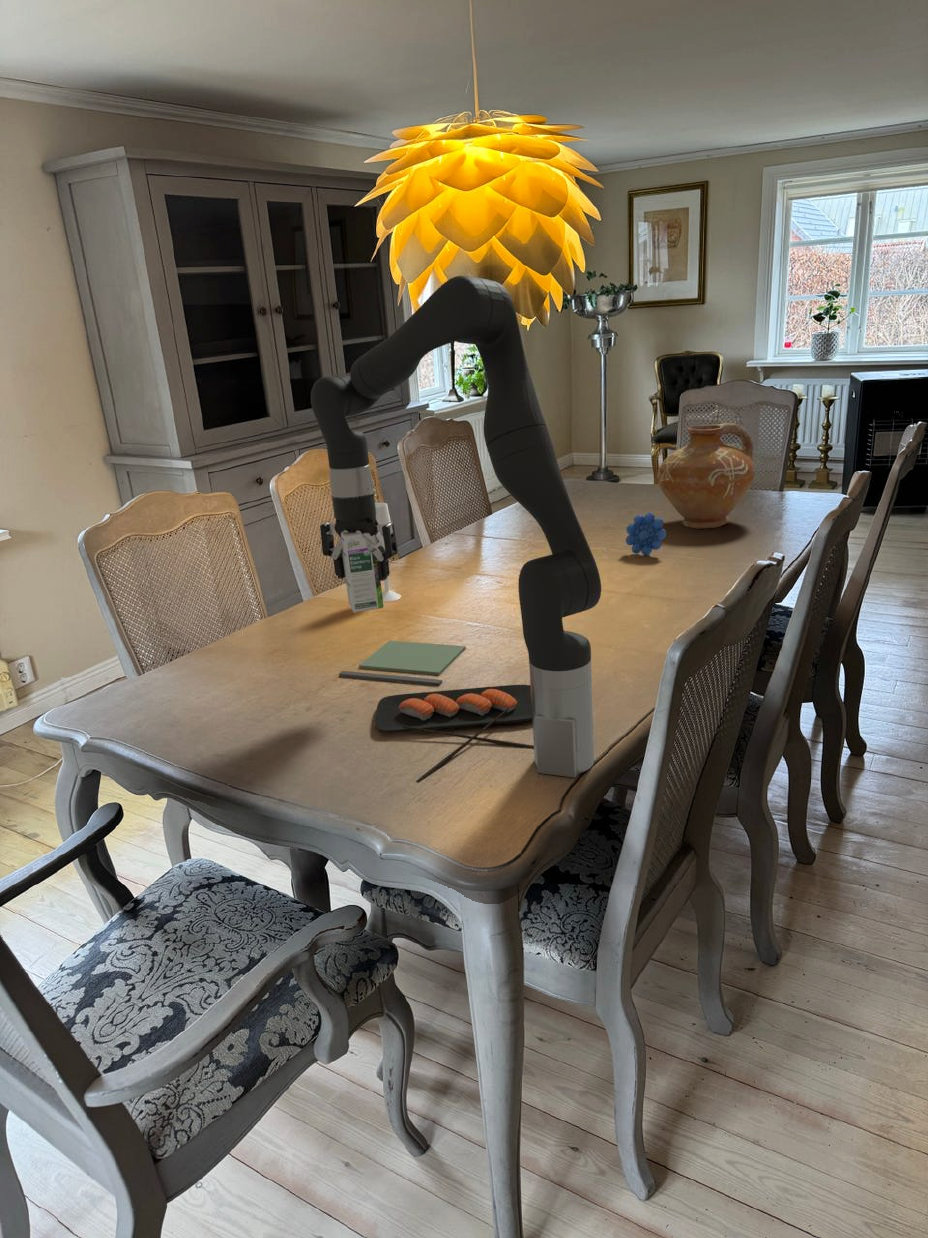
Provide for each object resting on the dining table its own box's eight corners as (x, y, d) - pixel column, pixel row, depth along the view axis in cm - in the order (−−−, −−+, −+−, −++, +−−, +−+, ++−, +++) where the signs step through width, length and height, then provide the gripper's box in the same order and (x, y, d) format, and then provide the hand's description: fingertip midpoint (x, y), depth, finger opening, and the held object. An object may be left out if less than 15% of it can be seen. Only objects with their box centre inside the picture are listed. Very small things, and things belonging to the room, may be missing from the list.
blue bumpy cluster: (671, 552, 237) (672, 510, 233) (662, 559, 231) (662, 515, 227) (632, 549, 243) (631, 507, 239) (622, 555, 238) (621, 513, 234)
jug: (650, 516, 277) (649, 422, 267) (739, 510, 276) (742, 415, 265) (666, 538, 251) (666, 435, 241) (765, 532, 249) (769, 427, 239)
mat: (439, 675, 169) (439, 672, 169) (359, 667, 176) (358, 665, 176) (465, 648, 181) (465, 646, 181) (389, 643, 188) (389, 640, 188)
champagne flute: (397, 601, 215) (386, 507, 207) (371, 601, 217) (360, 508, 208) (404, 593, 221) (394, 501, 213) (379, 593, 223) (368, 502, 215)
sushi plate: (535, 692, 160) (534, 673, 158) (556, 773, 131) (555, 751, 130) (379, 705, 160) (377, 686, 158) (367, 789, 131) (364, 767, 130)
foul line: (439, 685, 164) (438, 683, 164) (339, 676, 173) (338, 673, 173) (442, 682, 166) (442, 679, 166) (342, 673, 174) (342, 670, 174)
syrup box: (353, 613, 156) (343, 536, 151) (348, 604, 161) (338, 529, 157) (384, 608, 157) (375, 531, 153) (377, 599, 163) (369, 524, 158)
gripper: (306, 495, 152) (318, 583, 157) (379, 495, 146) (389, 586, 152) (327, 486, 158) (338, 571, 164) (397, 486, 153) (406, 573, 158)
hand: (362, 578), depth 158 cm, fingers closed on syrup box, 8 cm apart
